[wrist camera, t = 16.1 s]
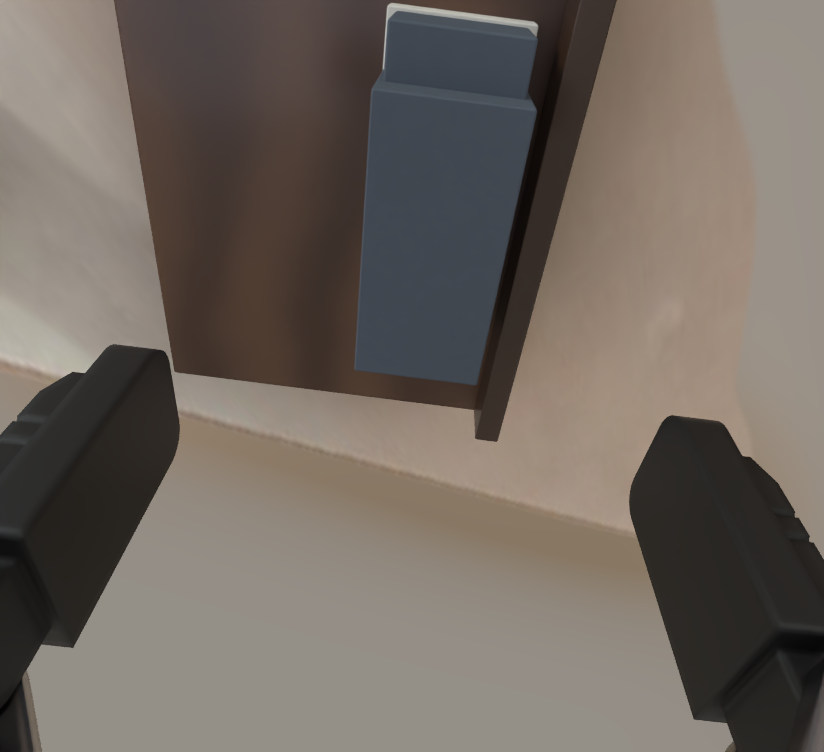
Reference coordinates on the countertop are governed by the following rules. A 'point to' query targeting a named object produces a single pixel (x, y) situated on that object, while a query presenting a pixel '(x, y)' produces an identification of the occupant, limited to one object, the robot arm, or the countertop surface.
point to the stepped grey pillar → (441, 188)
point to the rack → (317, 182)
